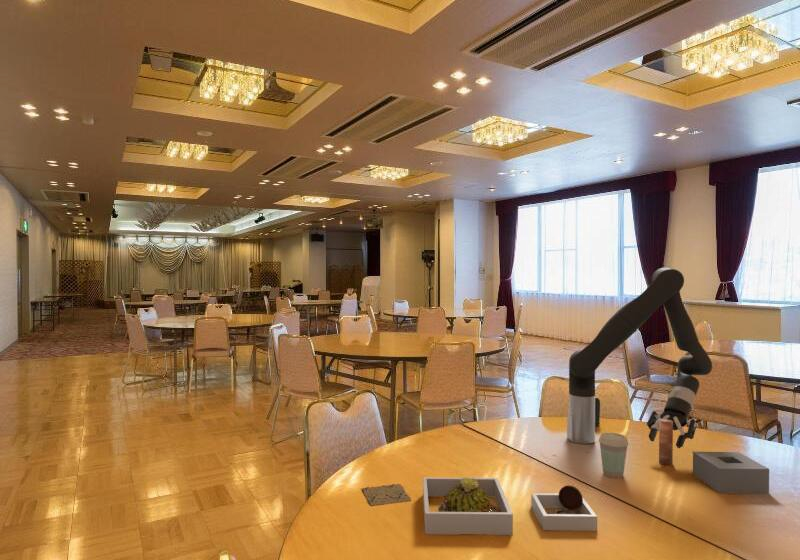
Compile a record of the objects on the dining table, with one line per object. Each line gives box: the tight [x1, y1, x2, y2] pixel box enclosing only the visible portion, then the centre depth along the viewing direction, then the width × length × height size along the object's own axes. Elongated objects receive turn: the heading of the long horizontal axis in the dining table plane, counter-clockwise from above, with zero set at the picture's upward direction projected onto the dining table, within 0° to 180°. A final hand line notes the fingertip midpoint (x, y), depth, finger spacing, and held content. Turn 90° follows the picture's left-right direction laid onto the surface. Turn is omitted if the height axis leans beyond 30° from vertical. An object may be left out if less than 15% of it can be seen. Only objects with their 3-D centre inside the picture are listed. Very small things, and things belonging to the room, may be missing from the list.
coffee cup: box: [598, 432, 629, 479], centre depth 163 cm, size 8×9×12 cm
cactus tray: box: [422, 476, 514, 536], centre depth 137 cm, size 21×22×5 cm
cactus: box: [437, 476, 501, 512], centre depth 136 cm, size 17×16×10 cm
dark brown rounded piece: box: [552, 484, 584, 514], centre depth 134 cm, size 8×8×7 cm
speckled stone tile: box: [361, 483, 412, 507], centre depth 148 cm, size 12×12×1 cm
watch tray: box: [530, 492, 598, 532], centre depth 134 cm, size 13×13×4 cm
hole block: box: [692, 451, 770, 494], centre depth 156 cm, size 14×14×7 cm
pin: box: [658, 418, 674, 466], centre depth 172 cm, size 4×4×14 cm
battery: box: [595, 396, 601, 426], centre depth 216 cm, size 7×4×11 cm, turn 106°
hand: (664, 443), depth 172 cm, fingers open, 8 cm apart
